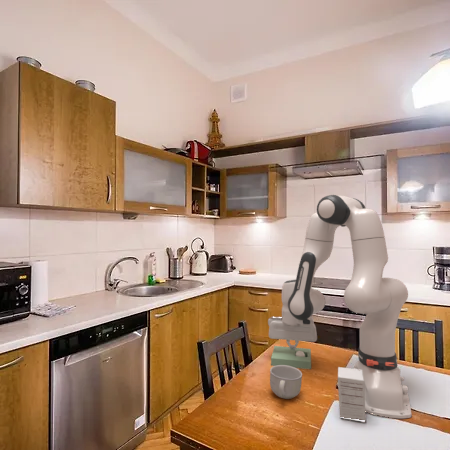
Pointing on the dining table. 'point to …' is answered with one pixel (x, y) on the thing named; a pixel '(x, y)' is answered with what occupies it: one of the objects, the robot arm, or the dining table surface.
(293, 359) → the putting deck
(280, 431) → the dining table surface
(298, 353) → the ball
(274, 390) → the teacup
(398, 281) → the robot arm
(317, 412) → the dining table surface
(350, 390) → the supplement box
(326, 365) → the dining table surface
